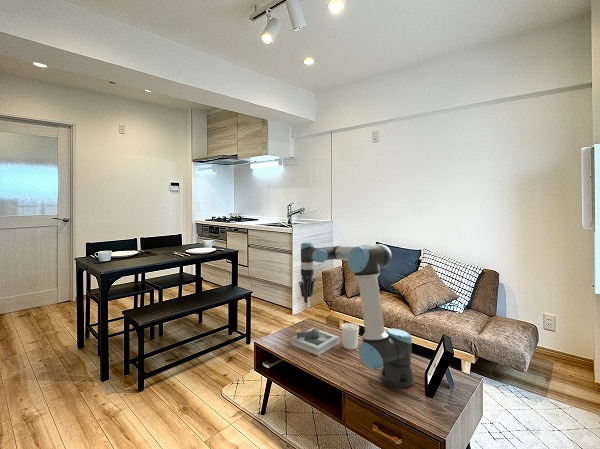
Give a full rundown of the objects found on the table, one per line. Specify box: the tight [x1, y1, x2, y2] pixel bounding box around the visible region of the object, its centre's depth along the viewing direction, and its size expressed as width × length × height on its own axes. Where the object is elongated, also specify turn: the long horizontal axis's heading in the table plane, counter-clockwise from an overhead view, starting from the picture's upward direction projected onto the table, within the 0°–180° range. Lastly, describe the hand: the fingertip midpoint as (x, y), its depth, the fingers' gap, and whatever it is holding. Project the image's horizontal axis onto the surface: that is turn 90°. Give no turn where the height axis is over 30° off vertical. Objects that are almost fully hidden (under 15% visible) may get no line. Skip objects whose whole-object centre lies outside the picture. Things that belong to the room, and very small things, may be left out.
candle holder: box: [341, 322, 360, 350], centre depth 184 cm, size 10×10×12 cm
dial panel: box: [290, 327, 340, 356], centre depth 187 cm, size 20×20×4 cm
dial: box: [296, 328, 326, 345], centre depth 187 cm, size 18×13×6 cm
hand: (307, 307), depth 191 cm, fingers closed
